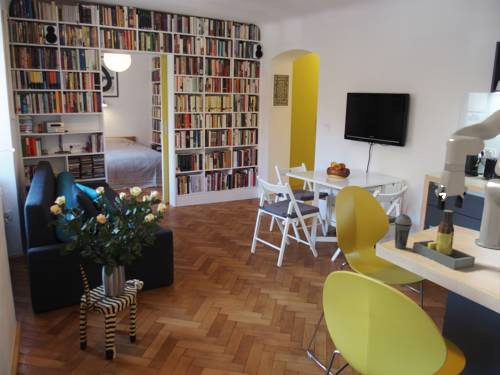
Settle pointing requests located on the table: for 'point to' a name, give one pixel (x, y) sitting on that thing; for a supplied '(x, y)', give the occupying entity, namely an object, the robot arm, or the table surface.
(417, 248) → the grey tray
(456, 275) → the table surface
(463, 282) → the table surface
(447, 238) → the sauce bottle
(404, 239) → the beverage cup
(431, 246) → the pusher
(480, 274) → the table surface
